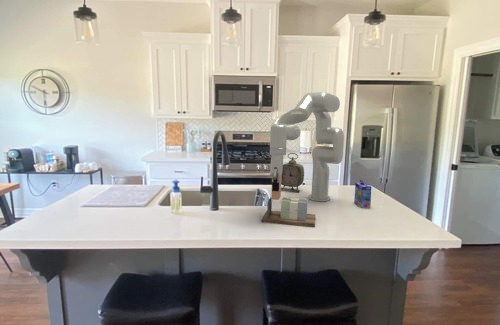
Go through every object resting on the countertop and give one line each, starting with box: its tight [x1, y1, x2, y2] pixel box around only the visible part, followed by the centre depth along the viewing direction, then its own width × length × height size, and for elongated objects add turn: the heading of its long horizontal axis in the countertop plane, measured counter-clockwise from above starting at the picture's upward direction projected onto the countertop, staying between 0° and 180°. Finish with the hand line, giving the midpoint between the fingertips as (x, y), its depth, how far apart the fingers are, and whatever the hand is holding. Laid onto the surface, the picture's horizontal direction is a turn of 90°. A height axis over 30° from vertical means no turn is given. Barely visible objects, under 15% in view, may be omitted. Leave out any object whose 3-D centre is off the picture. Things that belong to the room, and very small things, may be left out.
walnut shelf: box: [261, 196, 316, 228], centre depth 139 cm, size 13×24×10 cm, turn 77°
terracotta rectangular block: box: [271, 174, 282, 201], centre depth 139 cm, size 7×4×12 cm, turn 167°
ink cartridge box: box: [353, 179, 372, 209], centre depth 163 cm, size 10×6×14 cm, turn 3°
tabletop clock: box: [281, 152, 305, 193], centre depth 193 cm, size 14×9×25 cm, turn 62°
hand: (276, 188), depth 139 cm, fingers closed on terracotta rectangular block, 7 cm apart
